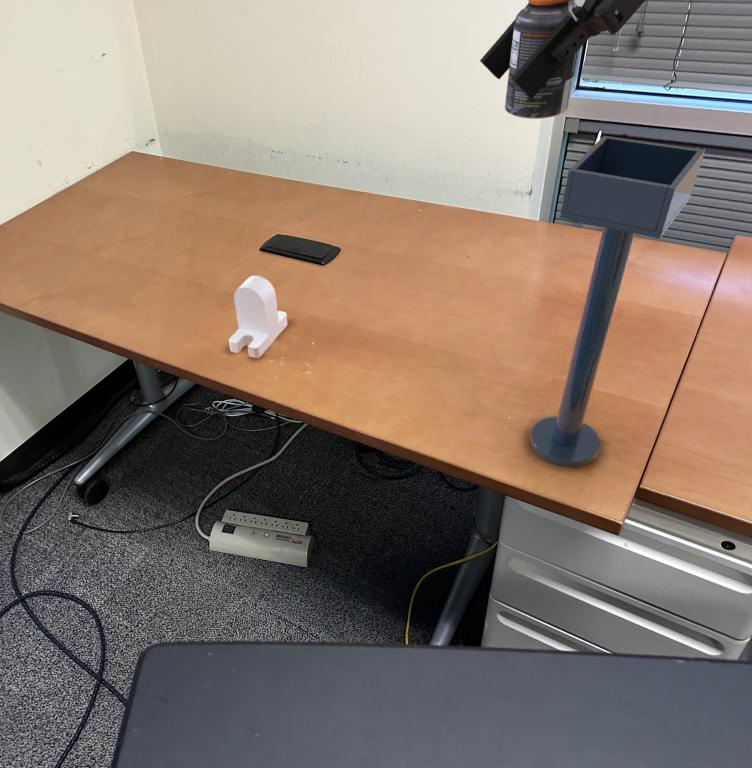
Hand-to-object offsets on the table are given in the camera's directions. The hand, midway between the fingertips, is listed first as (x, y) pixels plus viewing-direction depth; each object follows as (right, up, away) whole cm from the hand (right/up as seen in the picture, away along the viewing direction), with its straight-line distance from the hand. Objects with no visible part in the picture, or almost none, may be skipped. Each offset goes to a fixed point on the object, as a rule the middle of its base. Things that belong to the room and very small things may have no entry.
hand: (505, 78), depth 66 cm
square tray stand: (+14, -37, +17) cm, 43 cm away
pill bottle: (+4, -2, +3) cm, 5 cm away
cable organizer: (-23, -22, +42) cm, 52 cm away
